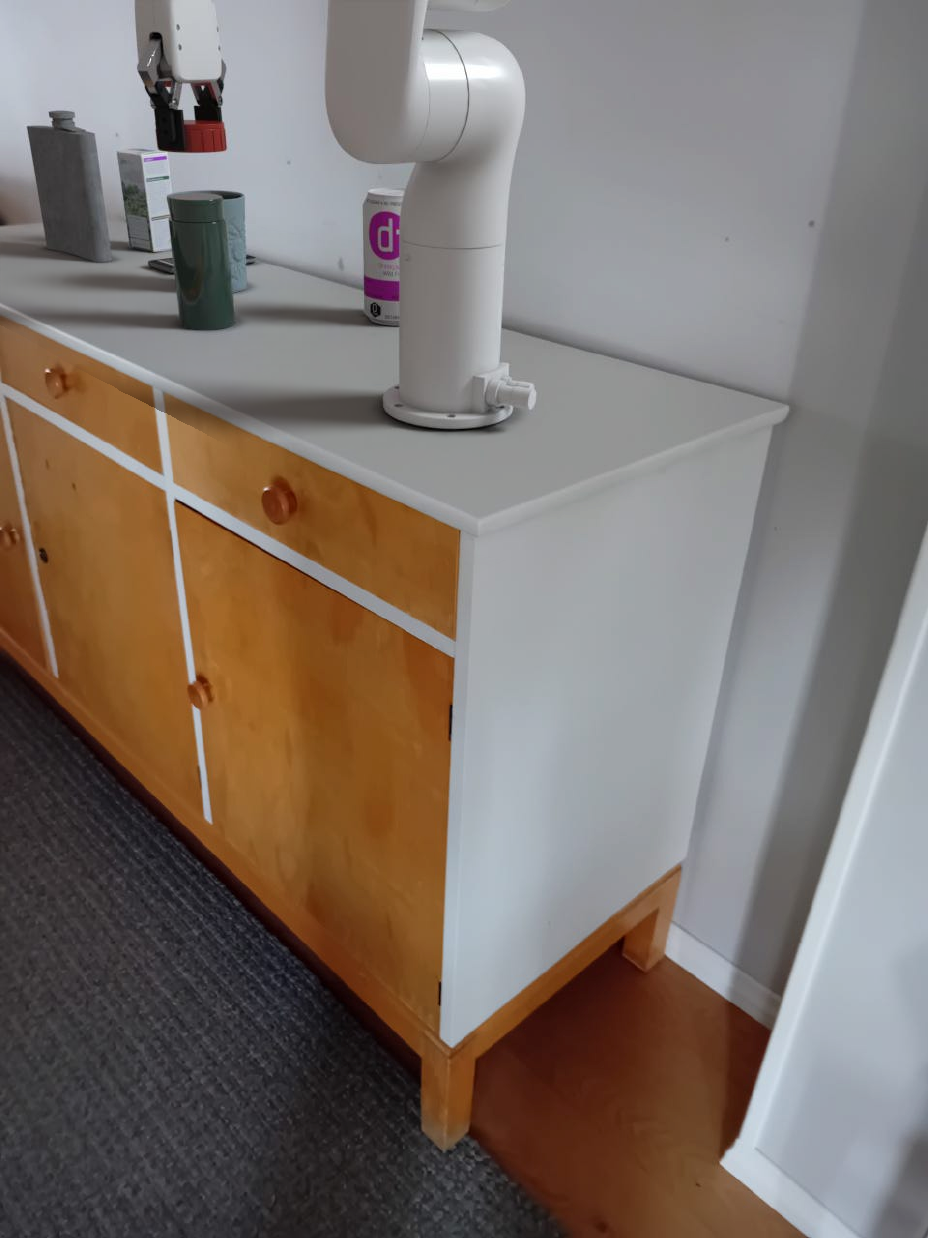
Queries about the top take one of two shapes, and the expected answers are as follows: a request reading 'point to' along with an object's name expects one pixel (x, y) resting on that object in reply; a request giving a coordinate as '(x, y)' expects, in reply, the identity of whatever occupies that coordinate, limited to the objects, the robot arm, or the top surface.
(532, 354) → the top surface
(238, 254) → the embossed blue cup
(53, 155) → the hip flask
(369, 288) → the supplement can
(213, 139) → the lid
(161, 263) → the smartphone
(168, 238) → the syrup box
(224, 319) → the jar
